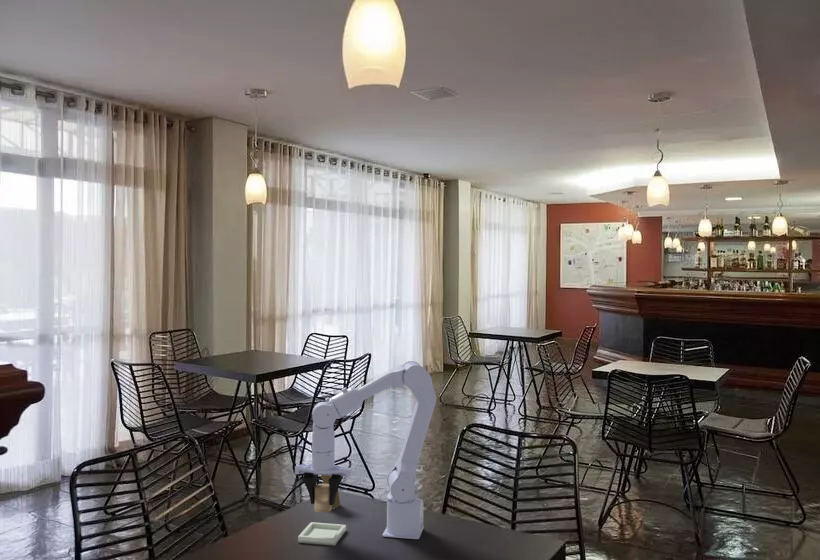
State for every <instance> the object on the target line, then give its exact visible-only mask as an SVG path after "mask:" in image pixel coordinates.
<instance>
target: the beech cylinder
mask: <svg viewBox="0 0 820 560" xmlns="http://www.w3.org/2000/svg"><path fill="white" fill-rule="evenodd" d="M313 507H314V513H315V512H316V513H320V514H325V513H329V512H331V511H332V510H333V509H332V505H330V487H329V484H322V483H318V484H316V485H315V499H314V504H313Z"/></svg>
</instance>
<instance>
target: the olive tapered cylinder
mask: <svg viewBox="0 0 820 560" xmlns="http://www.w3.org/2000/svg"><path fill="white" fill-rule="evenodd" d="M320 477H321V480H322V483H321V484H329V479H330V478H331V477H332V476H329V475H320ZM339 506H340V507H341V501H340V493H339V489H338V490H337V494H336V498H335V503H334V504H333V505H332V510H334V509H333V508H336V509H338V508H337V507H339ZM340 507H339V508H340Z"/></svg>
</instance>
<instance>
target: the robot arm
mask: <svg viewBox="0 0 820 560" xmlns="http://www.w3.org/2000/svg"><path fill="white" fill-rule="evenodd" d="M432 380H433V379H432V377H431V375H430V374H429V372H428V371H427V370H426V369H425V368H424V367H423V366H422V365H421V364H419V363H418V362H417V361H414V360H413V361H412V360H409V361H406V362H404V363H403V364H399V365H397V366H396V365H395V367H393V368H391V369H389V370H387V371H386V372H384V373H383V374H381V375H379V376H377V377H375V378H374V379H372V380H371V381H369V382H367V383H365V384H364V385H362V386H360V387H358V388H355V387H352V386H351V387H348V388H347V386H346V387H343V388H341V391H340V392H339V393H337V394H335V395H334V396H331V397H326V398H324V399H325V401H321V402H317V403H316V404H315V405H314V407H313V408H312V412H311V418H312V422H313V423H312V433H311V464H297V465H295V466H294V474H295V475H303V476H302V477H301V478H302V482H303V484H304V486H305V488H306V489H307V492H308V496H309V500H310V504H311V505H314V499H315V485H318V484H317V481H318V476H321V475H329V476H332V477H331V478H330V479H329V487H330V505H333V504H334V503H335V498H336V494H337V490H338V491H339V487H340V485H341V483H342V480H343V478H344V477H345V478H351V477H352V469H353V468H352V467H345V466H341V465H335V449H336V447H335V444H336V443H335V435H336V433H335V430H334V429H335V428H334V426H335V422H336V420H337V419H341V418H343V417H345V416H347V415H349V414H350V413H353V412H354V411H356V410H358V409H360V408H361V407H362V406H363V403H364V401H365V400H366V399H369V398H371V397H373V396H374V395H377V394H379V393H381V392H382V391H384V390H387V389H389V388H391V387H393V388H401V389H402V388H403V389H404V385H405V386H406V387H407V388H408V389H409V390H410V391H411V393H412V395H413V396H414V398H415V400H416V401H415V405H414V409H413V411H412V415H411V418H410V422H409V424H408V427H407V431H406V433H405V436H404V437H405V438H404V441H403V443H402V444H403V445H402V447H401V449H400V453H399V457H398V458H397V459H396V461H395V463H394V466H393V468H392V469H391V470H390V472H388V474H387V478H386V482H387V485H388V487H389V493H388V494H387V495H386V527H385V529H384V531H383V532H382V537H383V538H398V539H409V540H419V539H420V537H421V536H422V533H423V530H424V528H425V526H424V501H423V499H422V498H416V497H415V493H416V485H415V480H416V476H417V464H418V462H419V459H420V455H421V452H422V450H423V446H424V442H425V438H426V436H427V433H428V430H429V427H430V423H431V419H432V416H433V413H434V410H435V406H436V404H437V396H436V395H437V394H436V392H435V389H434V388H435V387H434V385H433V382H432Z"/></svg>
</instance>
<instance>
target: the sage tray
mask: <svg viewBox="0 0 820 560" xmlns="http://www.w3.org/2000/svg"><path fill="white" fill-rule="evenodd" d="M346 531H347V524H341V523H340V524H339V523H338V524H337V523H329V522H328V523H325V522H315V521H313V522H312V521H311V522H309V523H308V525H307V526H306V527H304V529H303V530H302V532H300V534H298V536H297V544H298V543H300V544H312V545H323V546H326V545H327V546H334V547H335V546H336V545H337V544H338V542H339V541H340V539H341V538H342V537H343V535H345V533H346Z"/></svg>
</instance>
